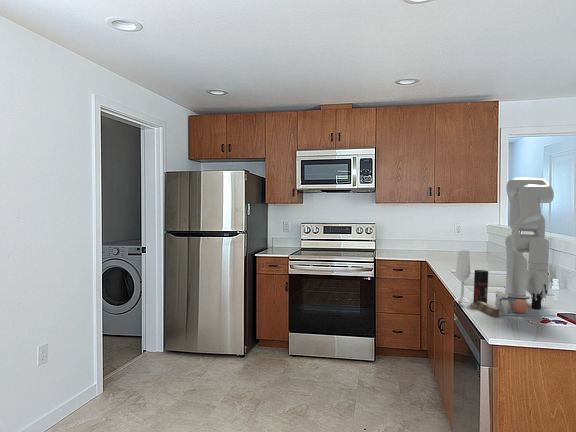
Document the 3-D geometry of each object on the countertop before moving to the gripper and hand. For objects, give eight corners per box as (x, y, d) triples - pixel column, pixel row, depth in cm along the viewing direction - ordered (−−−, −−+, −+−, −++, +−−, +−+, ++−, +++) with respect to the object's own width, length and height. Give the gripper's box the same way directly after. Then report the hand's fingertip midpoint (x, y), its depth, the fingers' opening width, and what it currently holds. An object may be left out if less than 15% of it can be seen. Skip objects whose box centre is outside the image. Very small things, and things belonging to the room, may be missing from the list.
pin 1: (494, 309, 198) (494, 290, 198) (499, 309, 198) (500, 290, 198) (497, 311, 196) (497, 291, 195) (502, 311, 196) (503, 291, 195)
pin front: (506, 311, 196) (495, 295, 195) (511, 308, 196) (500, 292, 195) (509, 312, 193) (498, 297, 193) (514, 309, 193) (503, 293, 193)
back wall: (476, 307, 202) (476, 300, 202) (480, 307, 202) (481, 300, 202) (494, 316, 186) (494, 309, 186) (499, 316, 186) (499, 309, 186)
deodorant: (475, 300, 217) (476, 269, 216) (488, 302, 213) (489, 270, 212) (471, 302, 212) (472, 270, 211) (484, 304, 208) (486, 272, 208)
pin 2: (500, 312, 193) (500, 293, 193) (505, 312, 193) (506, 293, 193) (503, 314, 191) (503, 294, 190) (508, 314, 191) (509, 294, 190)
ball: (518, 294, 195) (521, 306, 197) (507, 300, 194) (510, 312, 196) (530, 300, 189) (532, 312, 191) (518, 306, 188) (521, 318, 190)
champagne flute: (470, 300, 217) (472, 250, 216) (467, 302, 211) (469, 251, 210) (456, 298, 221) (458, 249, 220) (452, 300, 215) (454, 250, 214)
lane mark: (484, 308, 200) (484, 308, 200) (539, 309, 201) (539, 309, 201) (497, 315, 189) (497, 314, 189) (555, 315, 190) (555, 315, 190)
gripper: (519, 264, 202) (518, 305, 202) (540, 269, 187) (538, 313, 187) (536, 264, 202) (534, 305, 203) (557, 269, 187) (555, 313, 188)
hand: (536, 309), depth 195 cm, fingers closed
